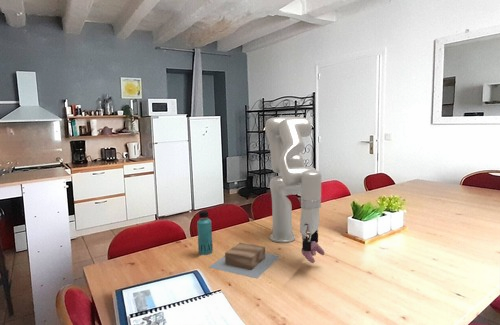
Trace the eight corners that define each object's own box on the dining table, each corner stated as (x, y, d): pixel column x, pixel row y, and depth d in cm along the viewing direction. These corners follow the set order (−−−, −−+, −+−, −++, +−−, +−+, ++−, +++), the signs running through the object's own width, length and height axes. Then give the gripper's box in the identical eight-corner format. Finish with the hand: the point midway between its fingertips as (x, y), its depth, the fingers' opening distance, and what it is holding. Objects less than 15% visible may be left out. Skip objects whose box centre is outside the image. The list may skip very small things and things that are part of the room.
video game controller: (316, 256, 131) (309, 239, 132) (326, 253, 128) (319, 237, 129) (304, 265, 123) (297, 247, 124) (314, 263, 120) (307, 245, 121)
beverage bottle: (199, 259, 140) (196, 214, 138) (197, 253, 147) (195, 210, 144) (214, 257, 142) (212, 212, 140) (211, 251, 148) (209, 209, 146)
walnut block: (240, 253, 141) (240, 242, 141) (265, 258, 136) (264, 246, 135) (225, 264, 131) (225, 252, 130) (251, 270, 125) (251, 257, 125)
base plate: (236, 250, 148) (236, 247, 148) (281, 259, 138) (281, 255, 138) (208, 270, 129) (208, 267, 129) (257, 282, 119) (257, 278, 118)
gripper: (308, 196, 132) (308, 236, 135) (293, 208, 117) (293, 253, 120) (326, 198, 129) (326, 239, 132) (313, 210, 114) (312, 257, 117)
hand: (310, 246), depth 126 cm, fingers closed on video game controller, 8 cm apart
